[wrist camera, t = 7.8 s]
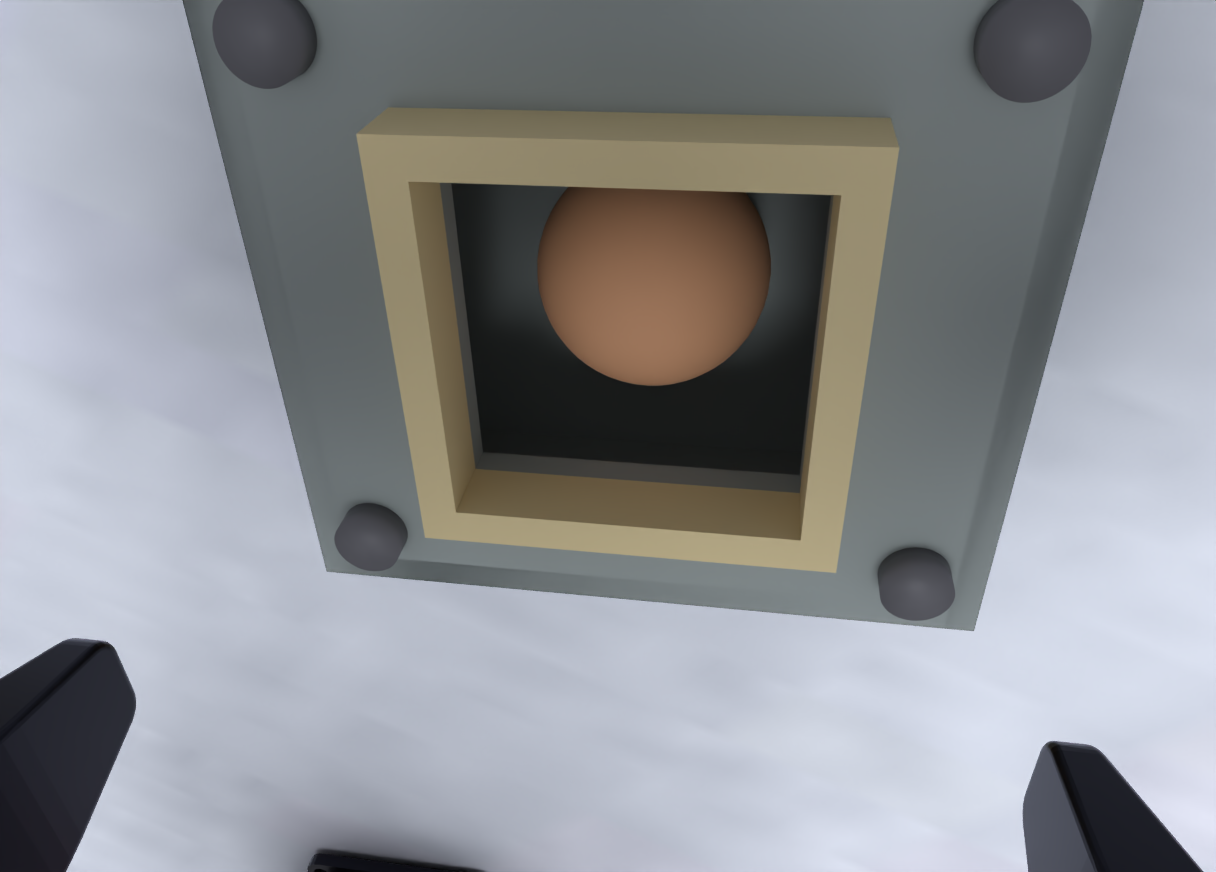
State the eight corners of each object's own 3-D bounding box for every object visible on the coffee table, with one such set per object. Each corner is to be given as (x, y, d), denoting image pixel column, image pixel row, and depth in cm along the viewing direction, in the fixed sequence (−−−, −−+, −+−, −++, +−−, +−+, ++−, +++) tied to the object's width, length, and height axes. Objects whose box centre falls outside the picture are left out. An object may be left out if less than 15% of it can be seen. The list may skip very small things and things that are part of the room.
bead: (564, 316, 20) (524, 424, 16) (553, 116, 17) (504, 195, 14) (763, 323, 19) (763, 436, 16) (778, 119, 17) (781, 201, 14)
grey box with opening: (410, 428, 23) (301, 615, 18) (320, -107, 16) (111, -54, 11) (937, 464, 21) (985, 683, 16) (1060, -116, 15) (1200, -58, 10)
